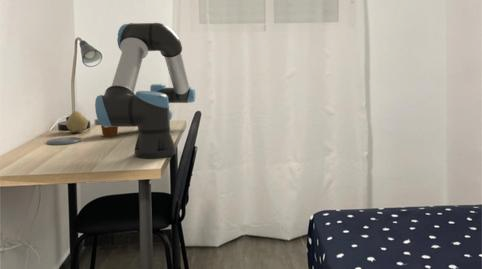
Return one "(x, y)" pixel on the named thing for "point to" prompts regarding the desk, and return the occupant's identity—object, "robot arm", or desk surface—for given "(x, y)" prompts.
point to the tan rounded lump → (76, 122)
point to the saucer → (64, 141)
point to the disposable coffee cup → (109, 131)
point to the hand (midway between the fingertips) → (99, 123)
